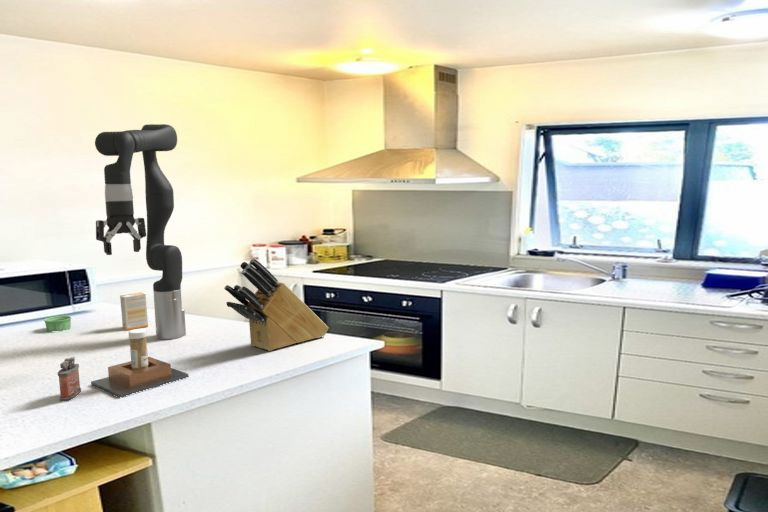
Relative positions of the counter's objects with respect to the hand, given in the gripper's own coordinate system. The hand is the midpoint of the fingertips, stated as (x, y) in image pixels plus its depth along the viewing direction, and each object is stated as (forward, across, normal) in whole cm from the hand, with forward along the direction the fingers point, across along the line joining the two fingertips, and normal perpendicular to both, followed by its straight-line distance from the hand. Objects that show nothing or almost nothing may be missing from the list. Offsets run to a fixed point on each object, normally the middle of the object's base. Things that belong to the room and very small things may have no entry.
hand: (123, 253), depth 174 cm
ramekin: (+34, -4, -63) cm, 72 cm away
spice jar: (+33, +7, +19) cm, 39 cm away
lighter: (+34, +24, +15) cm, 44 cm away
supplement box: (+34, -23, -41) cm, 58 cm away
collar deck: (+34, +7, +19) cm, 40 cm away
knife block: (+34, -41, +22) cm, 58 cm away
